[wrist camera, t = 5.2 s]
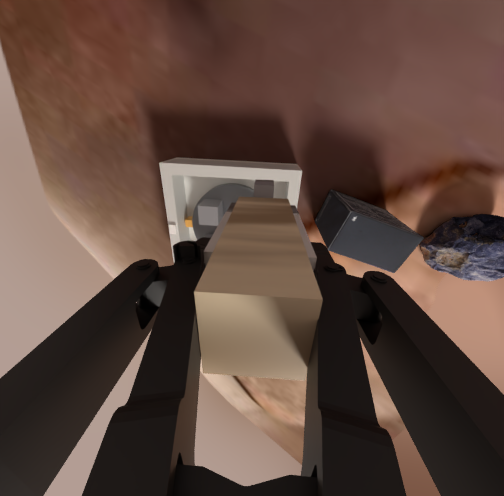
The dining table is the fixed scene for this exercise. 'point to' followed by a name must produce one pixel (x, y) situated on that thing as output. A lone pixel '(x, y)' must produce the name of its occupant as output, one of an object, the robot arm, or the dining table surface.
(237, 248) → the long wooden block
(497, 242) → the rock
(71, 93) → the dining table surface
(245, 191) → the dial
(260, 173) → the white open square box
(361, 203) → the small box
